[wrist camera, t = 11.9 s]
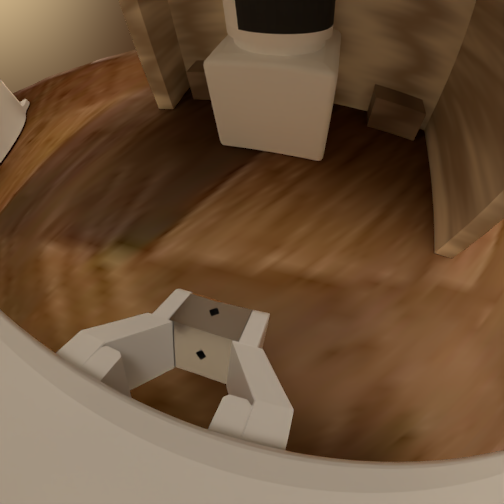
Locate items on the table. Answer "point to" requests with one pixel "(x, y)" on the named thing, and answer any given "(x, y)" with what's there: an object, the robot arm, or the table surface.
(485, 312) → the table surface
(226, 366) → the robot arm
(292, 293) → the table surface
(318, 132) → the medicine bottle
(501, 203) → the cubby shelf
